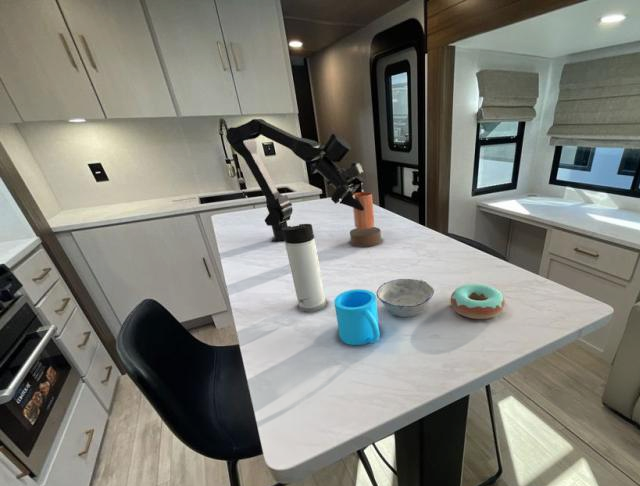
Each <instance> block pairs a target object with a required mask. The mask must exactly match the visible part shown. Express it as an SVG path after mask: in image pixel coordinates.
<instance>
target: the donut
mask: <svg viewBox="0 0 640 486" xmlns="http://www.w3.org/2000/svg"><path fill="white" fill-rule="evenodd" d="M450 304H451V307H452V309H453V310H454V311H455V312H456V313H457V314H458V315H461V316H463V317H466V318H469V319H473V320H474V319H475V320H486V319H491V318H494V317H496V316H499V314H501V313H502V311H503V310H504V308H505V304H506V301H505V298H504V296H503V294H502V292H501V291H499V290H498V289H496V288H495V287H493V286H489V285H487V284H480V283H469V284H464V285H460V286H459V287H457V288H455V289H454V291H453V292H452V294H451V296H450Z"/></svg>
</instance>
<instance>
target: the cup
mask: <svg viewBox="0 0 640 486" xmlns="http://www.w3.org/2000/svg"><path fill="white" fill-rule="evenodd" d="M354 196H355V197H356V198H357V200H358V201H359V202H360V203H361V204H362V206H363V207H364V210H363V211H361V210H358V209H356V208H353V207H352V212H353V220H354V228H359V229H367V228H372V227H375V215H374V203H373V193H372V192H368V191H364V192H358V193H354Z"/></svg>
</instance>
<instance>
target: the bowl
mask: <svg viewBox="0 0 640 486" xmlns="http://www.w3.org/2000/svg"><path fill="white" fill-rule="evenodd" d="M434 293H435V289H434V288H433V287H432V285H430V284H429V283H428V282H426V281H424V280H422V279H415V278H414V279H413V278H400V279H399V278H398V279H392V280H389V281H386V282H384V283H383V284H381V285H380V286H379V287H378V289H377V290H376V298H377V299H378V300H379V301H380V302H381V303H382V304H383V305H384V306H385V308H386V309H387V311H388V312H389V313H391V314H392V315H393V316H395V317H399V318H412V317H415V316H417V315H419V314H421V312H423V310H424V309H425V308H426V306H427V305H428V304H429V302H430V300H431V299H432V297H433V296H434Z"/></svg>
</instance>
